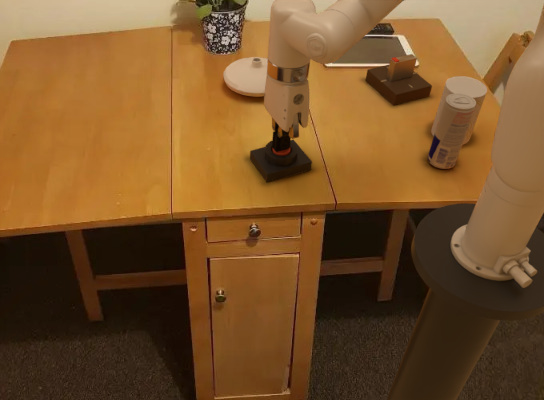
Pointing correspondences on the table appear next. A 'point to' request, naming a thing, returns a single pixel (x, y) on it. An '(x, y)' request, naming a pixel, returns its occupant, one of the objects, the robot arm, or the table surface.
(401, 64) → the block
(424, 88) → the plate
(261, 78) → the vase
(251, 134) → the table surface
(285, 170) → the box
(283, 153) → the release button
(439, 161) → the beverage can
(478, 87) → the cup
